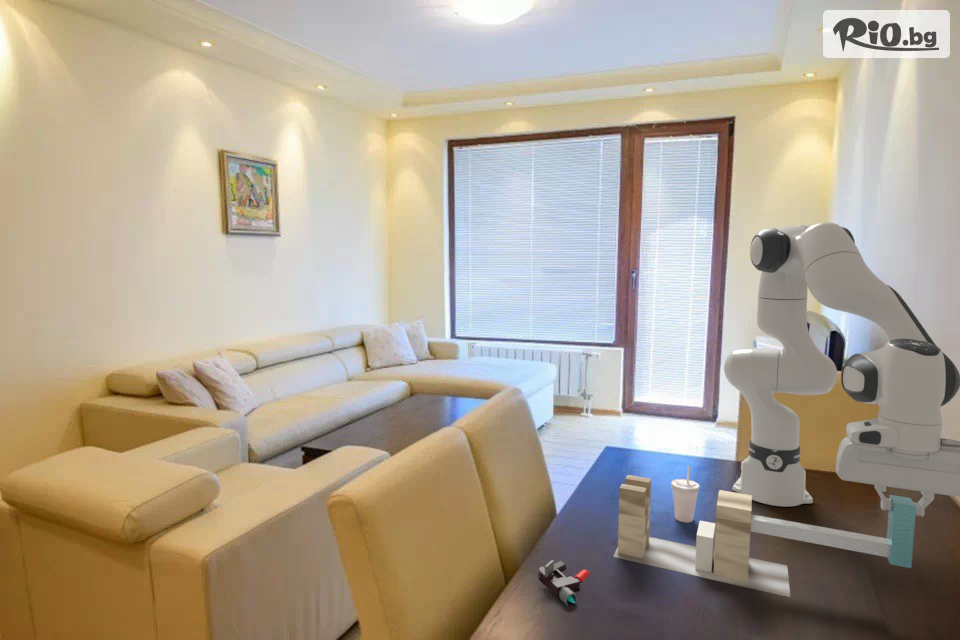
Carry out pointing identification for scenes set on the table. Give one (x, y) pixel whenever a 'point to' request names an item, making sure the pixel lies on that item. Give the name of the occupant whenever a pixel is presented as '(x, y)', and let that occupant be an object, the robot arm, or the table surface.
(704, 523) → the collar
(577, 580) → the toy gun
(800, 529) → the shaft
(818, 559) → the table surface
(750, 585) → the stand
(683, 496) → the smoothie
